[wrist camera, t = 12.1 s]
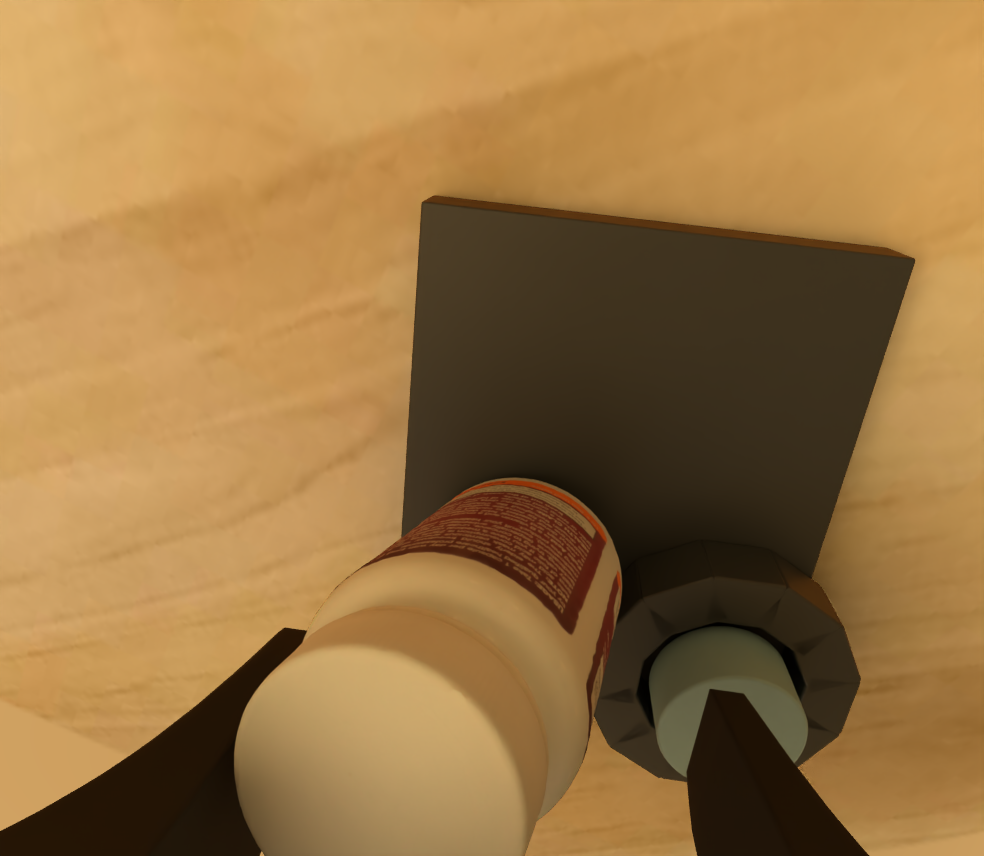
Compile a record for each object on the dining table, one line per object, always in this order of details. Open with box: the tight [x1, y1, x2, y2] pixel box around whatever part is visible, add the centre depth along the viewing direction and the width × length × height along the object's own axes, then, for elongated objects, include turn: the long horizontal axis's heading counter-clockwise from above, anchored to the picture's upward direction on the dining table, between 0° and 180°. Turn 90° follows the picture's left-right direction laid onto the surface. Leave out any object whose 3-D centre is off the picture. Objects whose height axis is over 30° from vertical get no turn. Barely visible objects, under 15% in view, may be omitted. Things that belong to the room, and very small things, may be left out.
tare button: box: [649, 626, 808, 777], centre depth 17 cm, size 3×3×2 cm
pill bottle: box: [234, 478, 622, 856], centre depth 13 cm, size 5×5×8 cm
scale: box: [401, 196, 915, 782], centre depth 17 cm, size 13×11×3 cm
